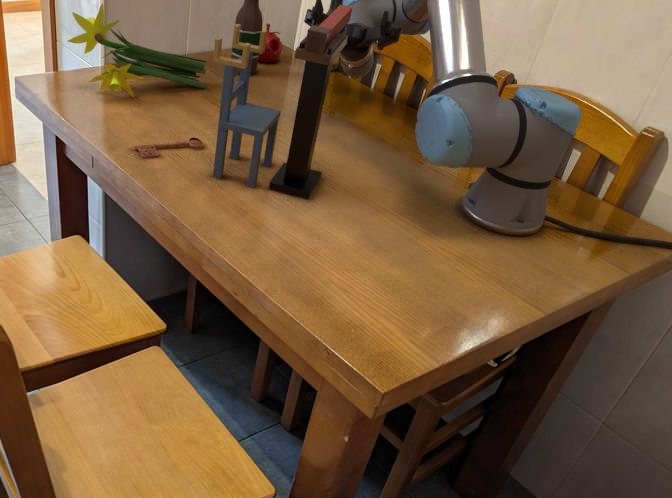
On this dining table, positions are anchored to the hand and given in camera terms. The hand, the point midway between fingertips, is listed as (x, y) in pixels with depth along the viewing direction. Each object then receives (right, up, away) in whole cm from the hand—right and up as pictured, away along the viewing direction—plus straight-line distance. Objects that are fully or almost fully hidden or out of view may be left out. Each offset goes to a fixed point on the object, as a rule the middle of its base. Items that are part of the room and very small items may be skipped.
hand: (350, 11), depth 127 cm
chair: (-22, -30, +3) cm, 37 cm away
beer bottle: (-19, +9, +49) cm, 53 cm away
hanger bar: (-7, -11, -13) cm, 18 cm away
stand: (-11, -34, +1) cm, 35 cm away
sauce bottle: (+5, +14, +57) cm, 59 cm away
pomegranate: (-12, +16, +58) cm, 61 cm away
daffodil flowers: (-44, -3, +32) cm, 54 cm away
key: (-36, -25, +7) cm, 44 cm away
